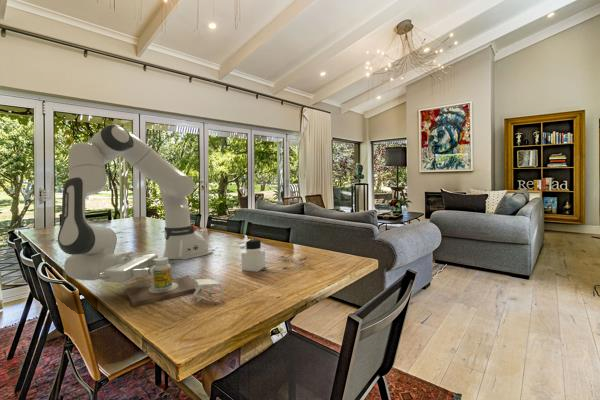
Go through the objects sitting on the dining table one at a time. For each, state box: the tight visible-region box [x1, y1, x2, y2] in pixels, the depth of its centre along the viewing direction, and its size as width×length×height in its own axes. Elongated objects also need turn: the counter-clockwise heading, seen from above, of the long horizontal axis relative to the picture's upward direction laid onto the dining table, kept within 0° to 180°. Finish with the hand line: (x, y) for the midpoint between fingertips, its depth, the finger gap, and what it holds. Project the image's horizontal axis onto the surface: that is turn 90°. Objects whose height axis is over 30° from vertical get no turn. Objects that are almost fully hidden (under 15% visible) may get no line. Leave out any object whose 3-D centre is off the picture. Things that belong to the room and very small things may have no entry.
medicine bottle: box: [241, 238, 266, 273], centre depth 124 cm, size 7×7×12 cm
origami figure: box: [192, 278, 226, 302], centre depth 95 cm, size 12×8×5 cm
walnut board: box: [125, 275, 202, 307], centre depth 101 cm, size 20×14×1 cm
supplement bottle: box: [152, 257, 173, 290], centre depth 101 cm, size 5×5×10 cm
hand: (156, 267), depth 101 cm, fingers open, 8 cm apart
